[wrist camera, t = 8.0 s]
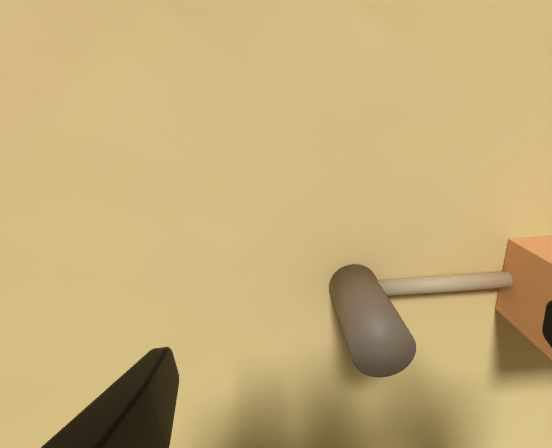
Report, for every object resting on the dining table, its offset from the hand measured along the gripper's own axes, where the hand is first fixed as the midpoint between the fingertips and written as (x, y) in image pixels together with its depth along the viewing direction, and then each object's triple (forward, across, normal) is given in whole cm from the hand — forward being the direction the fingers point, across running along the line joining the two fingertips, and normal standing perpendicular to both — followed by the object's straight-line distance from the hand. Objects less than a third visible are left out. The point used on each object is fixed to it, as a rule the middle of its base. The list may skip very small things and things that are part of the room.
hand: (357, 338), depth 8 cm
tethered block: (+12, -9, +6) cm, 16 cm away
